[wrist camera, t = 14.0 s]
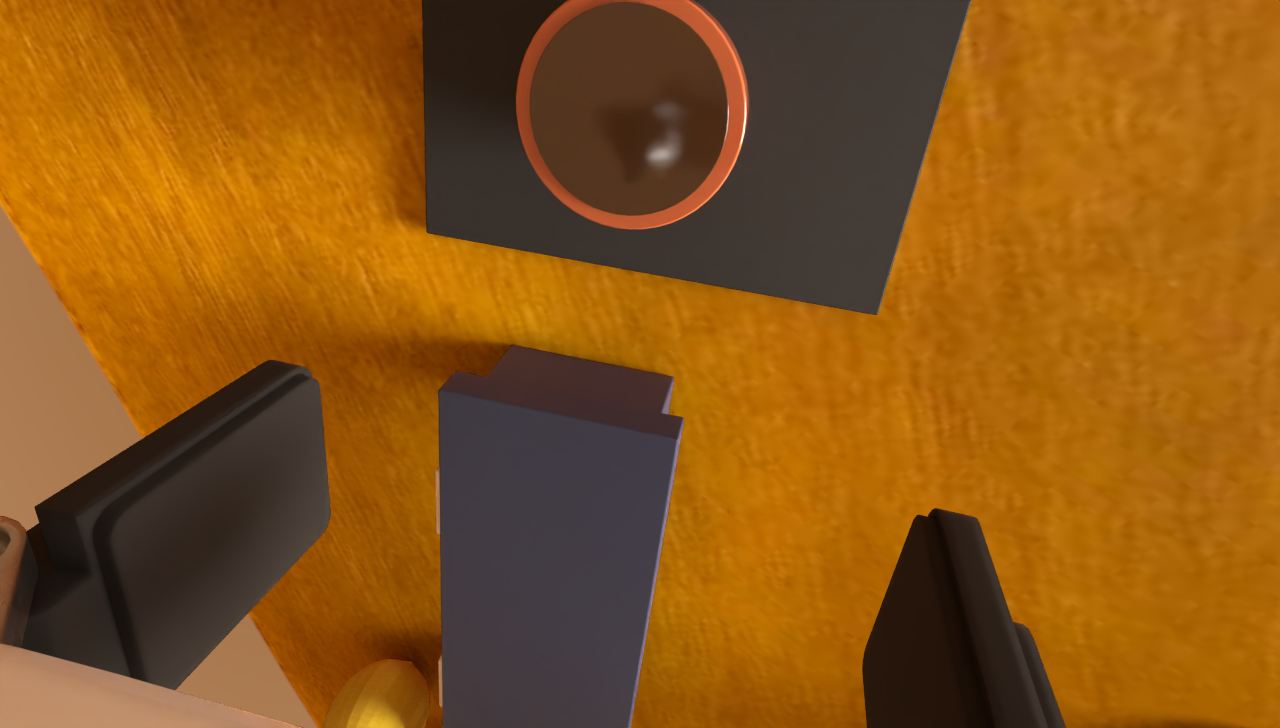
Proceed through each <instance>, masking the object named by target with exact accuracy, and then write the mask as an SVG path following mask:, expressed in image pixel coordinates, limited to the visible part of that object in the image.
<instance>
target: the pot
mask: <svg viewBox="0 0 1280 728" xmlns="http://www.w3.org/2000/svg"><path fill="white" fill-rule="evenodd" d="M516 114H517V121H518V128H519V132H520V136H521V140H522V143H523V146H524V148H525V151H526V154H527V156H528V158H529V160H530V162H531V164H532V166H533V168H534V170H535V172H536V173H537V174H538V176H539V177H540V179H541V180H542V182H543V183H544V184H545V186H546V187H547V188H548V189H549V190H550V191H551V192H552V193H553V195H554V196H556V197H557V198H558V199H559V200H560V201H561V202H562V203H563V204H564V205H566V206H567V207H569V208H570V209H572V210H573V211H574V212H576V213H578V214H579V215H581V216H583V217H585V218H587V219H589V220H591V221H594V222H597V223H599V224H602V225H606V226H610V227H614V228H620V229H630V230H633V229H649V228H656V227H660V226H664V225H667V224H670V223H673V222H675V221H678V220H680V219H682V218H684V217H686V216H688V215H689V214H691V213H693V212H694V211H696V210H697V209H699V208H700V207H701V206H702V205H703V204H705V203H706V202H707V201H708V200H709V199H710V198H711V197H712V196H713V195H714V194H715V193H716V192H717V191H718V190H719V188H720V187H721V186H722V184H723V183H724V182H725V180H726V179H727V177H728V176H729V174H730V172H731V170H732V168H733V166H734V165H735V162H736V160H737V157H738V155H739V152H740V150H741V147H742V144H743V141H744V137H745V133H746V129H747V122H748V114H749V95H748V87H747V80H746V76H745V72H744V69H743V65H742V62H741V60H740V57H739V55H738V52H737V50H736V48H735V46H734V44H733V42H732V41H731V39H730V37H729V35H728V34H727V33H726V31H725V30H724V29H723V27H722V26H721V25H720V23H719V22H718V21H717V20H716V19H715V18H714V17H713V16H712V15H711V14H710V13H709V12H708V11H707V10H706V9H705V8H703V7H702V6H701V5H699V4H698V3H697V2H695V1H694V0H567V1H566V2H564V3H563V4H562V5H561V6H560V7H558V8H557V9H556V10H555V11H554V12H553V13H552V14H551V15H550V16H549V17H548V18H547V19H546V20H545V21H544V22H543V24H542V25H541V26H540V28H539V29H538V31H537V32H536V34H535V35H534V37H533V39H532V41H531V43H530V44H529V46H528V48H527V50H526V53H525V56H524V59H523V61H522V64H521V68H520V72H519V77H518V81H517V92H516Z"/></svg>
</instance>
